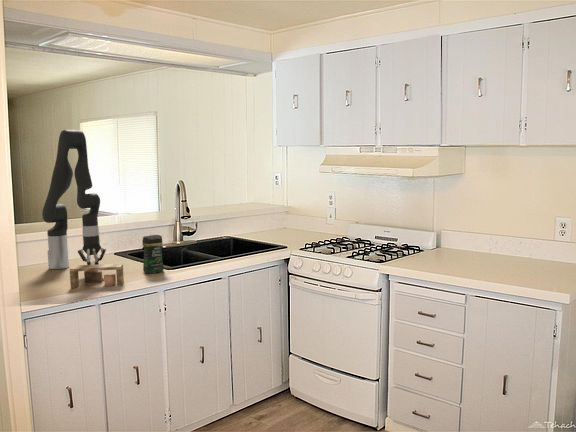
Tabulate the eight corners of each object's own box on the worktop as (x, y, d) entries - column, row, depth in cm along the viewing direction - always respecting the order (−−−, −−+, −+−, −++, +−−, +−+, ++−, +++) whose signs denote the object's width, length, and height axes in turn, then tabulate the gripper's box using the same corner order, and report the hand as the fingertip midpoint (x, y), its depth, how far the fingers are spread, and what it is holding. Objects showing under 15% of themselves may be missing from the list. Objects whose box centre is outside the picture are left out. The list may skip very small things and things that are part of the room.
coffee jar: (148, 274, 268) (146, 237, 266) (141, 272, 274) (139, 235, 272) (166, 271, 274) (164, 235, 272) (158, 269, 280) (157, 233, 278)
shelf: (70, 288, 245) (69, 269, 244) (74, 284, 252) (73, 265, 250) (121, 285, 248) (120, 266, 247) (123, 281, 255) (122, 263, 254)
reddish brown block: (103, 286, 248) (103, 276, 247) (105, 283, 253) (105, 273, 252) (115, 285, 248) (114, 275, 248) (116, 282, 253) (116, 273, 253)
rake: (84, 282, 255) (84, 271, 254) (93, 270, 274) (92, 260, 273) (101, 281, 256) (100, 271, 255) (108, 269, 275) (108, 260, 275)
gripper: (74, 236, 262) (76, 271, 264) (104, 235, 264) (106, 270, 266) (77, 234, 269) (80, 268, 271) (107, 232, 271) (109, 266, 273)
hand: (93, 269), depth 269 cm, fingers closed on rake, 2 cm apart
